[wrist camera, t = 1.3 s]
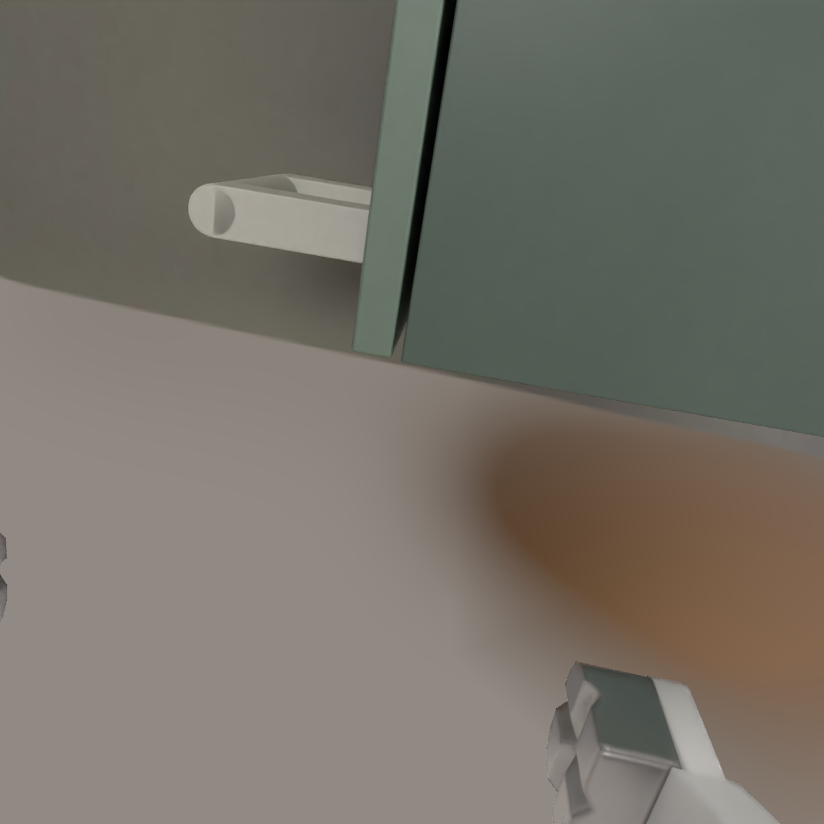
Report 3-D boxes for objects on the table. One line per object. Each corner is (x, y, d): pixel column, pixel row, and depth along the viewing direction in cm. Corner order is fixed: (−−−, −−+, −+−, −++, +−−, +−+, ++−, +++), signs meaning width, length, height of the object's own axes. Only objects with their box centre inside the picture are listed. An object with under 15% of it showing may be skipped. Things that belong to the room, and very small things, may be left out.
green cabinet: (443, 249, 35) (400, 363, 17) (507, -131, 30) (549, -601, 11) (700, 293, 35) (947, 459, 16) (816, -84, 29) (1402, -491, 11)
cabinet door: (297, 224, 36) (98, 308, 17) (331, -159, 30) (88, -649, 11) (439, 249, 35) (391, 359, 17) (502, -134, 30) (533, -592, 11)
